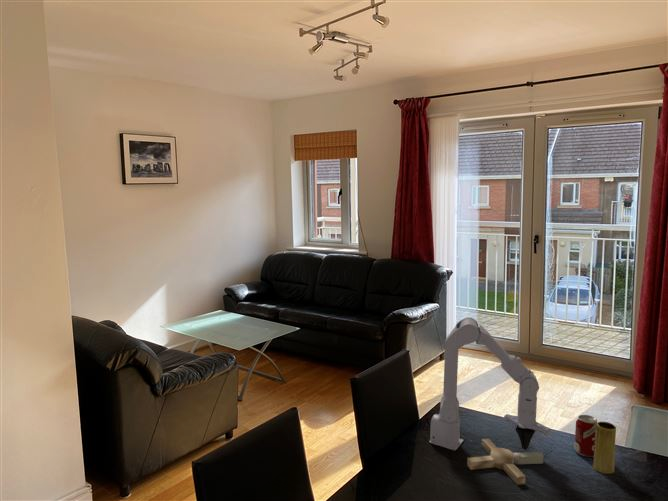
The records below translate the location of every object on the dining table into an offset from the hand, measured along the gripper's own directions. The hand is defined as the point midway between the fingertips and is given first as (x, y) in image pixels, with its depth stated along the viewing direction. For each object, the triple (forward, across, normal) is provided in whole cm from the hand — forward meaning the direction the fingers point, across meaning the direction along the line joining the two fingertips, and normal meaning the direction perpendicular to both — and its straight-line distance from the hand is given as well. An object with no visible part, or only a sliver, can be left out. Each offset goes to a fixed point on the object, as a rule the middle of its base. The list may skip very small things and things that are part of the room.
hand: (525, 447), depth 164 cm
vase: (+2, +22, +7) cm, 23 cm away
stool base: (+1, -4, -15) cm, 16 cm away
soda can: (+2, +15, +13) cm, 20 cm away
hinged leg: (+1, +3, -5) cm, 6 cm away
